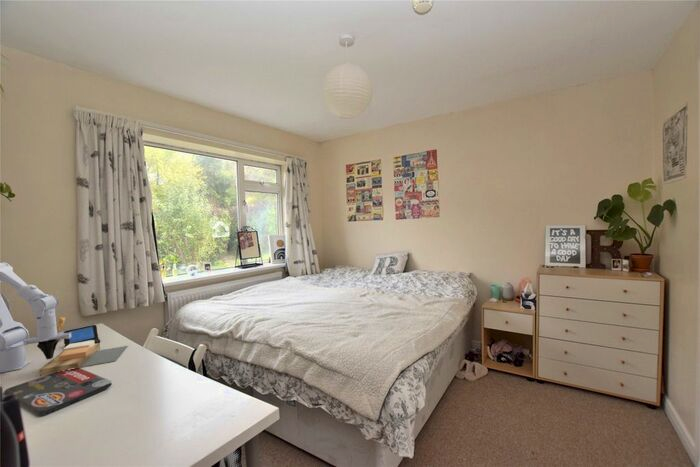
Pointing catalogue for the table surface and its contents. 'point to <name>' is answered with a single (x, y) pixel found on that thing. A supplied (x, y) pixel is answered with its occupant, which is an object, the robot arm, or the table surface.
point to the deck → (66, 362)
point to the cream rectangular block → (79, 345)
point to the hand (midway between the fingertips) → (49, 358)
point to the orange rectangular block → (75, 353)
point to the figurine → (60, 324)
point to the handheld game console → (82, 335)
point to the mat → (104, 356)
